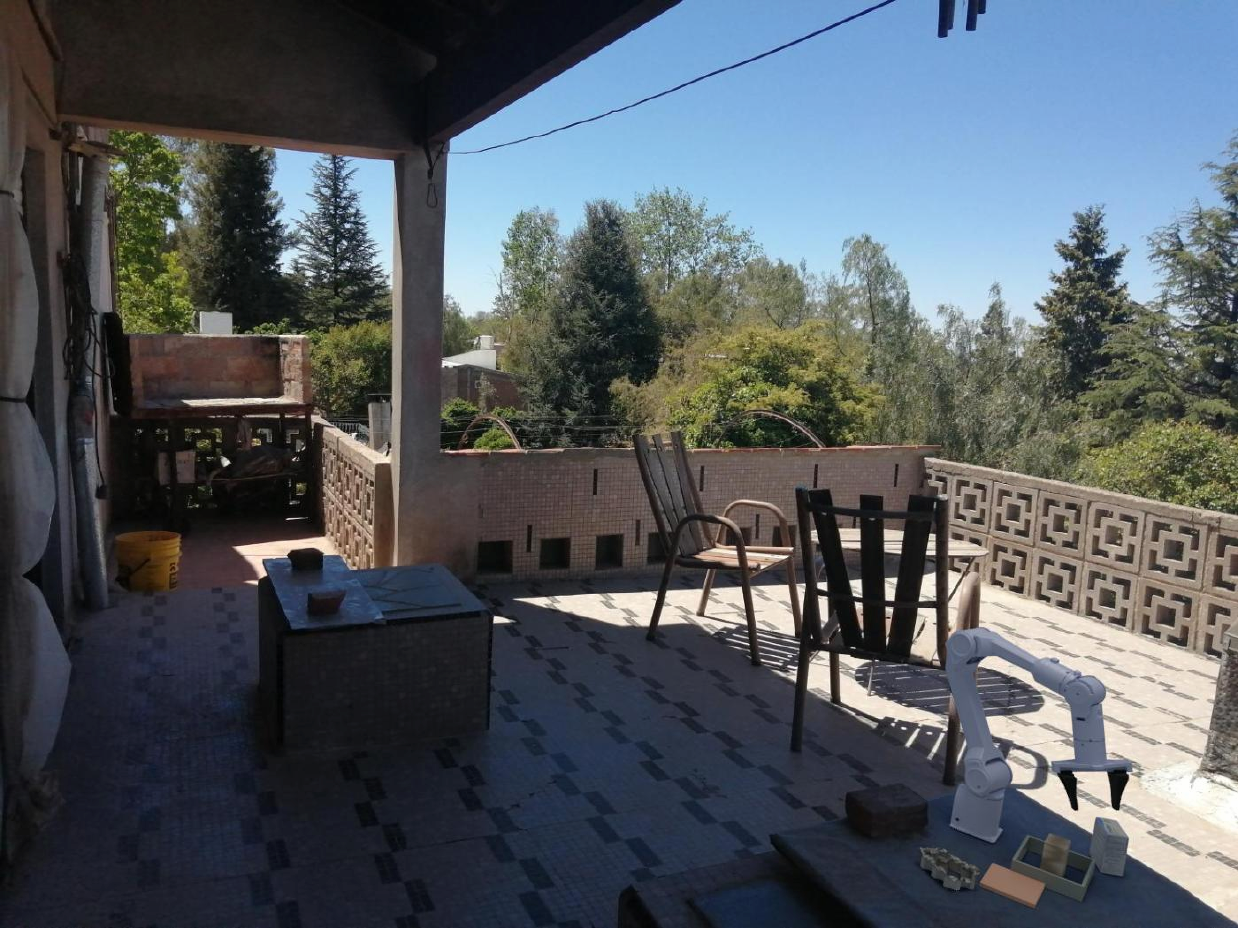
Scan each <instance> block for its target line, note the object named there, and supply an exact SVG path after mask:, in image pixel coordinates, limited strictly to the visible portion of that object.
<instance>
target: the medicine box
mask: <svg viewBox="0 0 1238 928" xmlns="http://www.w3.org/2000/svg"><path fill="white" fill-rule="evenodd" d="M1090 841H1091V842H1090V845H1089V846H1090V847H1089V852H1088V853H1089V855H1090V858H1093V859H1095V860H1096V862H1095V866H1096V867H1097V868H1098V870H1099V872H1100V873H1102V874H1106V875H1109V876H1116V877H1121V878H1122V877H1123V876H1124V871H1125V866H1126V865H1125V864H1126V859H1127V854H1128V848H1129V841H1130V837H1129V835H1128V834H1127V833H1126V832H1125V830H1124V828H1123V827H1122V826H1121V824H1120V822H1119V821H1118V820H1117V819H1116V820H1115V819H1111V818H1106V817H1101V816H1100V817H1099V816H1095V818H1094V824H1093V829H1092V835H1091V839H1090Z"/></svg>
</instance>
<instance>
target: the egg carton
mask: <svg viewBox="0 0 1238 928" xmlns="http://www.w3.org/2000/svg"><path fill="white" fill-rule="evenodd" d="M919 850H920V852H921V853H922V856H921V861H920V868H921V869H923V870H929V871H930V872H931V875H930V876H931V877H932V878H933V879H936V880H940V881H942V882H943V883H942V884H943V885H942V886H943V887H944V888H945V887H948V888H952V889H954V890H956V891H955V892H958V891H957V890H960V891H961V888H965V887H966V888H965V889H967V888H968V890H969V889H973V890H975V884H976V876H978V875H979V874H981V869H979V867H977V866H976V865H975V864H972V863H970V864H968V863H967V861H962V859H960V858H959V857H957V856H956V855H952V854H949V853H948V850H947V849H945V848H942V849H940V848H939V847H936V848H934V847H931V848H930V847H927V846H926V848H924V847H921V846H919ZM948 871H951V872H953V873H958V874H960V878H959V877H956V876H953V875H948ZM952 889H951V890H952ZM954 890H953V891H954Z"/></svg>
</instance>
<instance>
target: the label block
mask: <svg viewBox="0 0 1238 928" xmlns="http://www.w3.org/2000/svg"><path fill="white" fill-rule="evenodd" d="M1044 841H1045V843H1044V849H1043V854H1042V855H1041V859H1040V861H1041V862H1040V866H1039V869H1041V870H1044V871H1047V872H1049V873H1052V874H1054V875H1057V876H1060V877H1062V878H1064V876H1065V874H1066V869H1067V865H1066V864H1067V859H1068V854H1069V850H1070V848H1071V844H1072V843H1071V841H1072V840H1070V839H1067V838H1064V837H1061V836H1059V835H1056V834H1053V833H1050V832H1049V833H1048V835H1047V837H1046V839H1045V840H1044Z"/></svg>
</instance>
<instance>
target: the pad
mask: <svg viewBox="0 0 1238 928" xmlns="http://www.w3.org/2000/svg"><path fill="white" fill-rule="evenodd" d="M1010 869H1011V868H1006V867H1004V866H1002V865H999V864H996V863H991V864H990V866H989V867H988V869H987V870H986V872H985V874H984V876H983V877H982V878H981V879H980V882H979V887H981V888H983V889H985V890H988V891H991V892H993V893H995V894H998V895H1000V896H1002V897H1004V898H1007V899H1010V900H1012V901H1013V902H1014V901H1015V902H1017V903H1019V904H1021V905H1024V906H1027V907H1028V908H1032V909H1036V906H1037V904H1038V902H1039V901H1040V899H1041V896H1042V894H1043V892H1044V890H1045V889H1046V888H1045V885H1046V884H1045V883H1042V882H1040V881H1037V880H1035V879H1032V878H1029V877H1027V876H1024V875H1022V874H1019V873H1017V872H1014V871H1012V870H1010Z"/></svg>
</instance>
